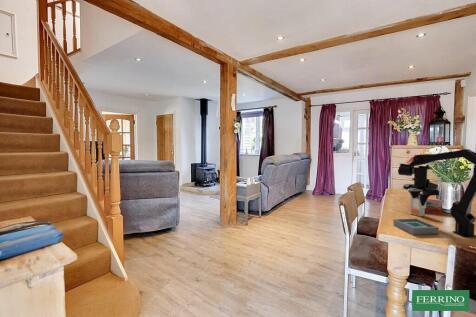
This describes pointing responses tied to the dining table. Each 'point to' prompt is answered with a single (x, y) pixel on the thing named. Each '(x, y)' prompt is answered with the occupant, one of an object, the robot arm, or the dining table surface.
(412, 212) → the skincare box
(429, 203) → the medicine box
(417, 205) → the cube with square boss
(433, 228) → the box
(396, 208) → the dining table surface
